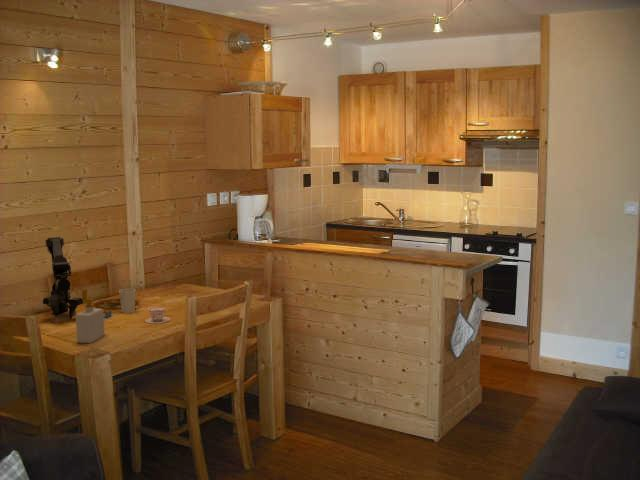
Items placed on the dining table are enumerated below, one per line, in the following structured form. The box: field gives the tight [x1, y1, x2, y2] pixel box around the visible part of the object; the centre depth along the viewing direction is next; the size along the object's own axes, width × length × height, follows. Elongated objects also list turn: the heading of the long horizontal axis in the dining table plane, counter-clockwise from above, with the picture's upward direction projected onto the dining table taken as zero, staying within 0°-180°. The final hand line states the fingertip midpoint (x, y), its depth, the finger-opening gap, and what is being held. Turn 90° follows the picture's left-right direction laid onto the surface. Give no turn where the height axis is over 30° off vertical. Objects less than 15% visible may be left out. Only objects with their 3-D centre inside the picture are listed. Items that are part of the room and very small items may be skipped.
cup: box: [118, 288, 136, 314], centre depth 351 cm, size 8×8×12 cm
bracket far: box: [103, 309, 112, 318], centre depth 342 cm, size 9×4×3 cm, turn 76°
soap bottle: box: [75, 286, 105, 344], centre depth 307 cm, size 12×7×23 cm, turn 167°
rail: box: [50, 310, 77, 324], centre depth 339 cm, size 4×15×4 cm, turn 164°
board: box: [103, 313, 118, 322], centre depth 339 cm, size 12×18×1 cm, turn 166°
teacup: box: [144, 306, 171, 325], centre depth 338 cm, size 12×12×6 cm
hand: (63, 318), depth 339 cm, fingers open, 7 cm apart
